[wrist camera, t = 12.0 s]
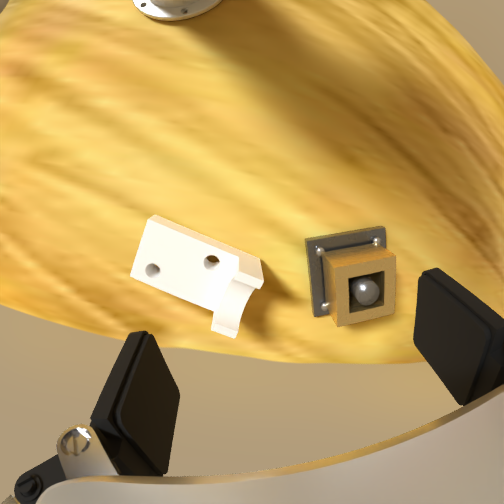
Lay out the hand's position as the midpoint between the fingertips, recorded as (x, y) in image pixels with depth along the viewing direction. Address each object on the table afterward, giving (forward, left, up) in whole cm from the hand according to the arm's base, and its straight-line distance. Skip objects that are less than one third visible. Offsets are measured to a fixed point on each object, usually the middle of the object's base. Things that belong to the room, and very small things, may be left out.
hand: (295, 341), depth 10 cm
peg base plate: (+9, +10, -25) cm, 29 cm away
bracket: (+5, -8, -26) cm, 27 cm away
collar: (+9, +10, -24) cm, 27 cm away
